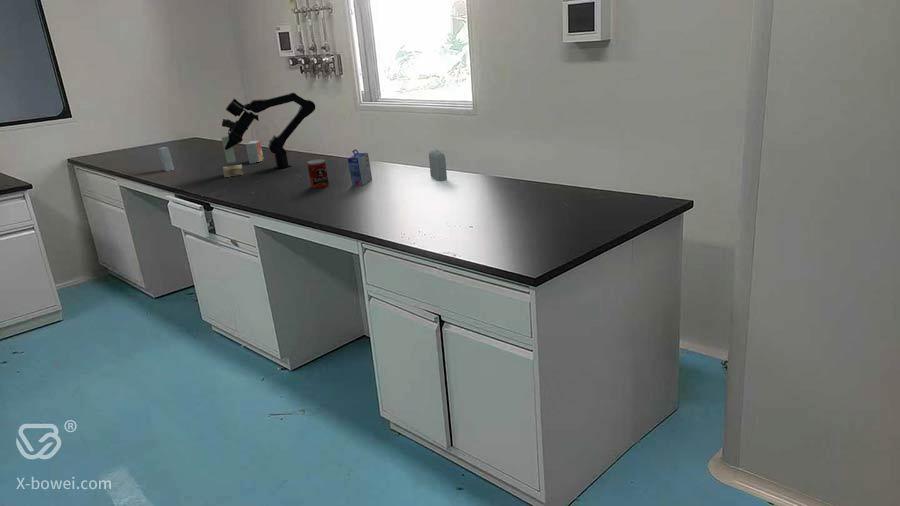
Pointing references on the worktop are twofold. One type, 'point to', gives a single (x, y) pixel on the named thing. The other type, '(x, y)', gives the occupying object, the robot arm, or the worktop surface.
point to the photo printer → (437, 165)
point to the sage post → (229, 152)
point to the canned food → (318, 173)
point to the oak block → (233, 170)
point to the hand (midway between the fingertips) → (225, 148)
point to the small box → (254, 151)
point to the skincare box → (165, 158)
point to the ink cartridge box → (359, 168)
